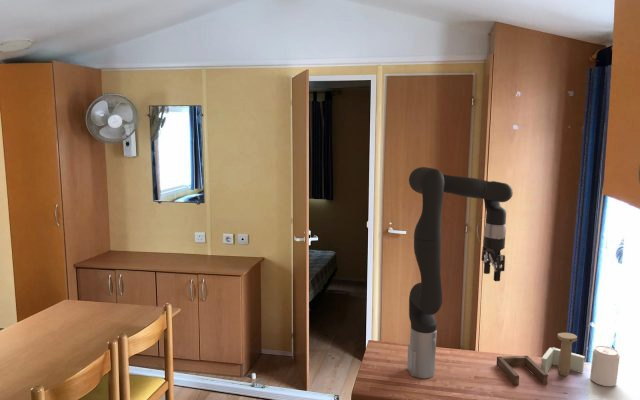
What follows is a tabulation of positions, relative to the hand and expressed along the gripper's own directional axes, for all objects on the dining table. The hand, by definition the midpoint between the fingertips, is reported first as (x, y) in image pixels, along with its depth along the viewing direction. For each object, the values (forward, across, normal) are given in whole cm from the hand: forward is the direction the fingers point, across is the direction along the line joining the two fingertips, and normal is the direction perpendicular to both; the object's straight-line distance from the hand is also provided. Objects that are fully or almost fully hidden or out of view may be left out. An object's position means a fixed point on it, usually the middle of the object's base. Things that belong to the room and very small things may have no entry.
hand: (491, 277), depth 183 cm
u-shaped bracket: (+33, +12, +8) cm, 36 cm away
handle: (+33, +13, +24) cm, 43 cm away
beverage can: (+33, +19, +35) cm, 52 cm away
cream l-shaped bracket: (+33, +8, +24) cm, 42 cm away
